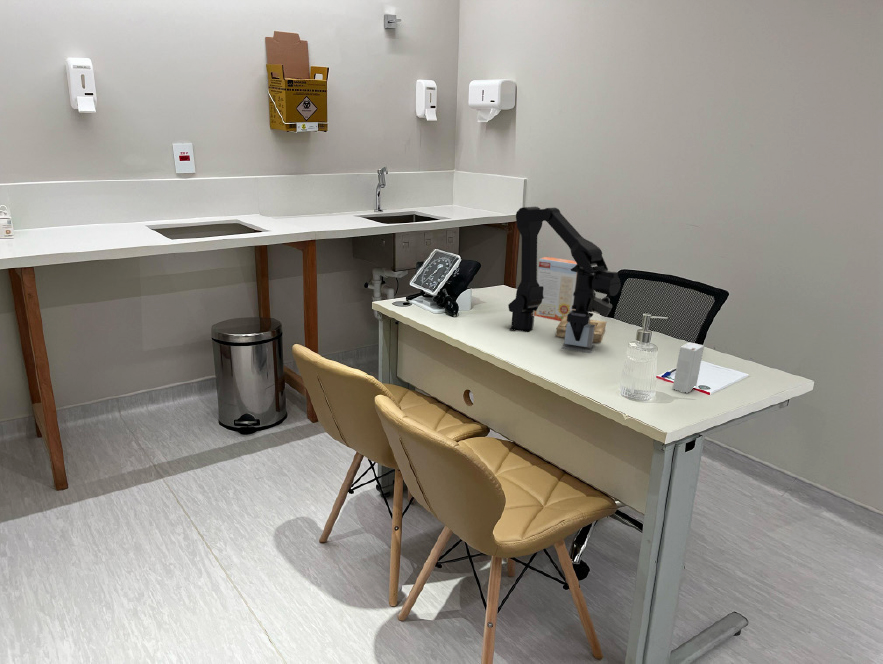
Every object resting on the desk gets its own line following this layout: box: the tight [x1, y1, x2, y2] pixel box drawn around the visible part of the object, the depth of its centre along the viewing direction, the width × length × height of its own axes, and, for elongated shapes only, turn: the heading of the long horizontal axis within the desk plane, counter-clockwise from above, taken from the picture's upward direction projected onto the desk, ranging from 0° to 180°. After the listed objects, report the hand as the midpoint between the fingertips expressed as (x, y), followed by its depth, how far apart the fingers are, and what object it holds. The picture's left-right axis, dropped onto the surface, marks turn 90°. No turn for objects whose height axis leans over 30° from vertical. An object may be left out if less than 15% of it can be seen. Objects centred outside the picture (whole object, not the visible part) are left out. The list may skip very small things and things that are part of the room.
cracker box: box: [533, 256, 577, 322], centre depth 239 cm, size 14×6×21 cm, turn 58°
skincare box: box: [672, 342, 705, 394], centre depth 180 cm, size 6×4×12 cm
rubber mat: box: [560, 343, 595, 354], centre depth 211 cm, size 9×9×1 cm
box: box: [563, 322, 595, 348], centre depth 209 cm, size 8×4×6 cm, turn 71°
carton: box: [555, 316, 607, 344], centre depth 223 cm, size 14×16×4 cm
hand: (578, 338), depth 210 cm, fingers closed on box, 4 cm apart
